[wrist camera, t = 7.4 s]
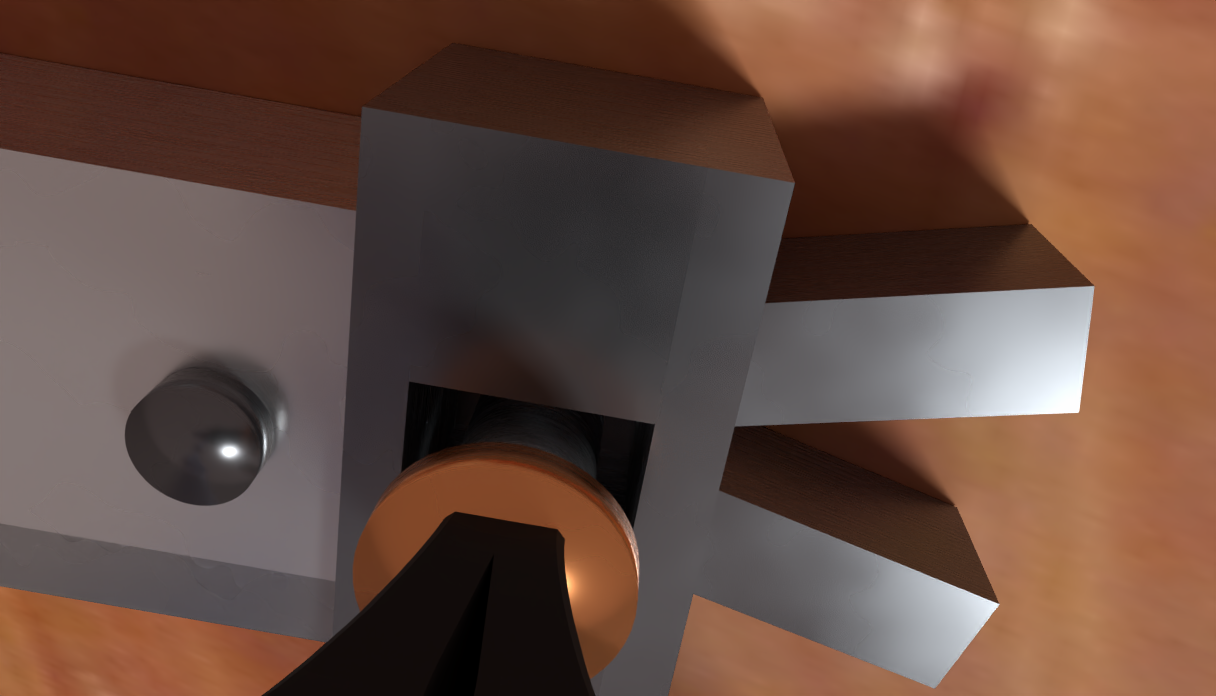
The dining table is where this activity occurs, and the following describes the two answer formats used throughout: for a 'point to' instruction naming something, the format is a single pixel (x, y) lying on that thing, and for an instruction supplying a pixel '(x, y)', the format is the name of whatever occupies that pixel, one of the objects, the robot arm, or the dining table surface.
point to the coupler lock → (173, 346)
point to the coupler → (687, 346)
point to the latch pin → (518, 511)
